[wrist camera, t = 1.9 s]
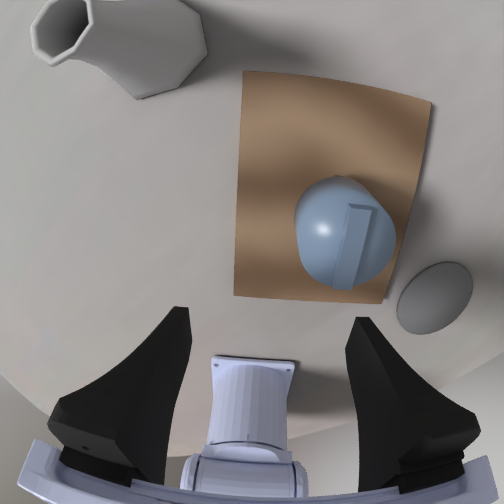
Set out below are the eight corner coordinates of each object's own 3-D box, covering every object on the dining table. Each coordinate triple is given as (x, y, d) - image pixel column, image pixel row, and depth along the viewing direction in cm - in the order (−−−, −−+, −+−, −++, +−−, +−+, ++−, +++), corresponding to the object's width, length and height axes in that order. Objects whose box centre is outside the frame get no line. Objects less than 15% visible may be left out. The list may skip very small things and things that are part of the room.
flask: (88, 41, 15) (-17, 35, 6) (174, -22, 13) (104, -84, 4) (134, 117, 18) (39, 152, 9) (228, 58, 16) (187, 29, 7)
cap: (365, 257, 19) (384, 296, 15) (289, 251, 19) (293, 291, 15) (383, 182, 16) (411, 209, 13) (299, 171, 16) (307, 196, 13)
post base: (378, 298, 24) (388, 321, 22) (234, 289, 24) (230, 314, 22) (425, 101, 16) (448, 105, 14) (244, 71, 16) (240, 68, 14)
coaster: (450, 330, 26) (452, 333, 26) (385, 332, 26) (386, 335, 26) (482, 264, 22) (484, 267, 22) (413, 258, 22) (415, 261, 22)
